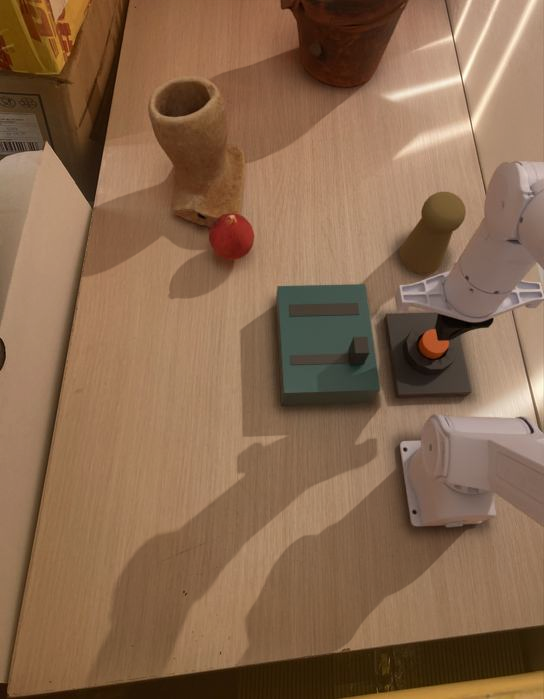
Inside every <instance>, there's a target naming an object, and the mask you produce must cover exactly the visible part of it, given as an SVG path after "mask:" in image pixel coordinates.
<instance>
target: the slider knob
mask: <svg viewBox="0 0 544 699" xmlns="http://www.w3.org/2000/svg"><path fill="white" fill-rule="evenodd" d="M348 353H349V362H350V365H364V363H365V361H366V359H367V357H368V355H369V353H370V352H369V345H368V337H353V339H352V342H351V344H350V347H349V349H348Z"/></svg>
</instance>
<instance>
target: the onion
mask: <svg viewBox="0 0 544 699" xmlns="http://www.w3.org/2000/svg"><path fill="white" fill-rule="evenodd" d="M208 240H209V243H210V246H211V248H212V250H213V251H214V252H215V253H216V254H217V256H219V257H221V258H223V259H225V260H228V261H237V260H240V259H242V258H243V257H246V256H247V255H248V254H249V252H250V251H251V250H252V249H253V246H254V241H255V232H254V229H253V226H252V224H251V223H250V221H248V219H246V217H244V215H242V214H240V215H239V214H235V213H227V214H223V215H222V216H220V217H218V218H217V219H216V220H215V221H214V223H213V224H212V226H211V227H209V235H208Z"/></svg>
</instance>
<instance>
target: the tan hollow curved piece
mask: <svg viewBox="0 0 544 699" xmlns="http://www.w3.org/2000/svg"><path fill="white" fill-rule="evenodd" d="M147 106H148V107H147V111H148V117H149V121H150V123H151V128H152V130H153V133H154V137H155V138H156V141H157V142H158V144H159V146H160V147H161V149H162V151H163V152H164V153H165V155H166V156H167V157H168V159H169V161H170V162H171V164H172V165H173V167H174V169H175V172H174V173H175V174H174V178H173V179H174V181H173V186H172V187H173V188H172V200H171V204H170V211H171V213H172V214H174V215H175V216H179V217H181V218H182V219H184V220H186V221H189V222H192V223H194V224H197V225H200V226H204V227H208V228H211V226H212V224H213V223H214V221H215V220H216V219H217V218H218V217H220V216H222V215H223V214H227V213H235V214H239V215H241V210H242V204H243V194H244V193H243V192H244V186H245V175H246V158H245V154H244V151H243V150H242V149H241V148H239V147H238V146H234V145H230V144H227V141H228V135H229V134H228V132H229V122H228V117H227V116H228V115H227V111H226V110H227V109H226V107H225V106H226V105H225V102H224V98H223V95H222V94H221V91H220V90H219V88H218V87H217V85H216V84H215V83H214V82H212V81H211V80H210V79H208V78H205V77H202V76H199V75H183V76H177V77H174V78H170V79H169V80H167V81H165V82H164V83H162V84H160V85H159V86H157V87H156V89H154V91H153V92H152V93H151V95H150V98H149V101H148V105H147Z"/></svg>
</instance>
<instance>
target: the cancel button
mask: <svg viewBox="0 0 544 699" xmlns="http://www.w3.org/2000/svg"><path fill="white" fill-rule="evenodd" d="M448 346H449V341H438V339H437V334H436V329H431V330H428V331H426V332H425V333H424V335H423V336H422V337H421V339H420V341H419V344H418V347H419V350H420V352H421V353H422V354H423V355H424V356H425V357H427V358H430V359H436V358H439V357H441V356H442V355H443V353H444V352H445V351H446V350H447V348H448Z"/></svg>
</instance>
